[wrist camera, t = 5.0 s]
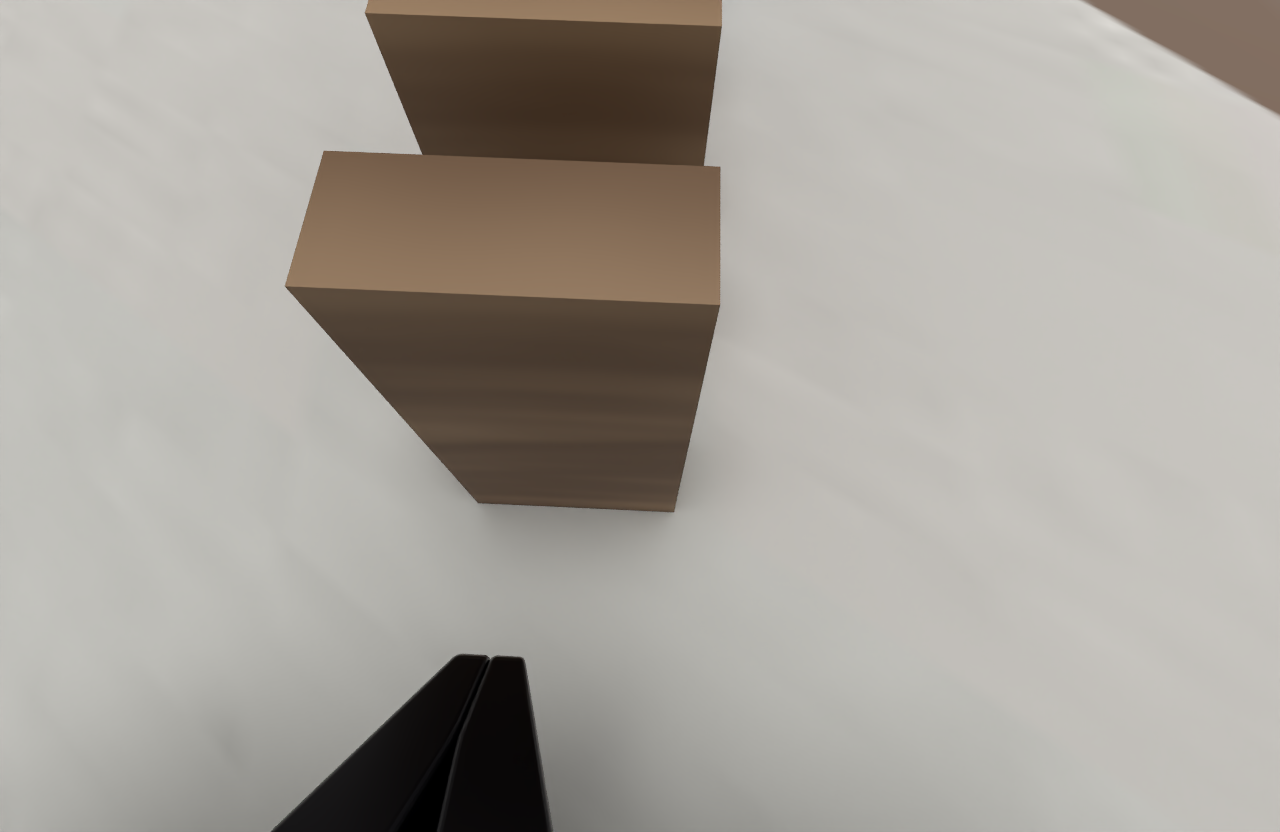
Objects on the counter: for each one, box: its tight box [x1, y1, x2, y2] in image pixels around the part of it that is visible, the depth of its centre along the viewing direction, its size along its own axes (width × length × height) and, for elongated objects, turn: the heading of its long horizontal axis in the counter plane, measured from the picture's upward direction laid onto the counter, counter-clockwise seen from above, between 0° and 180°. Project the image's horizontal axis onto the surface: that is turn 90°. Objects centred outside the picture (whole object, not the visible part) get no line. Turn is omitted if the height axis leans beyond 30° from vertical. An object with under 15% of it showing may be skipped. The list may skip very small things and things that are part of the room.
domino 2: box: [285, 151, 720, 512], centre depth 13 cm, size 2×5×10 cm, turn 87°
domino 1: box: [365, 0, 722, 166], centre depth 14 cm, size 2×5×10 cm, turn 87°
